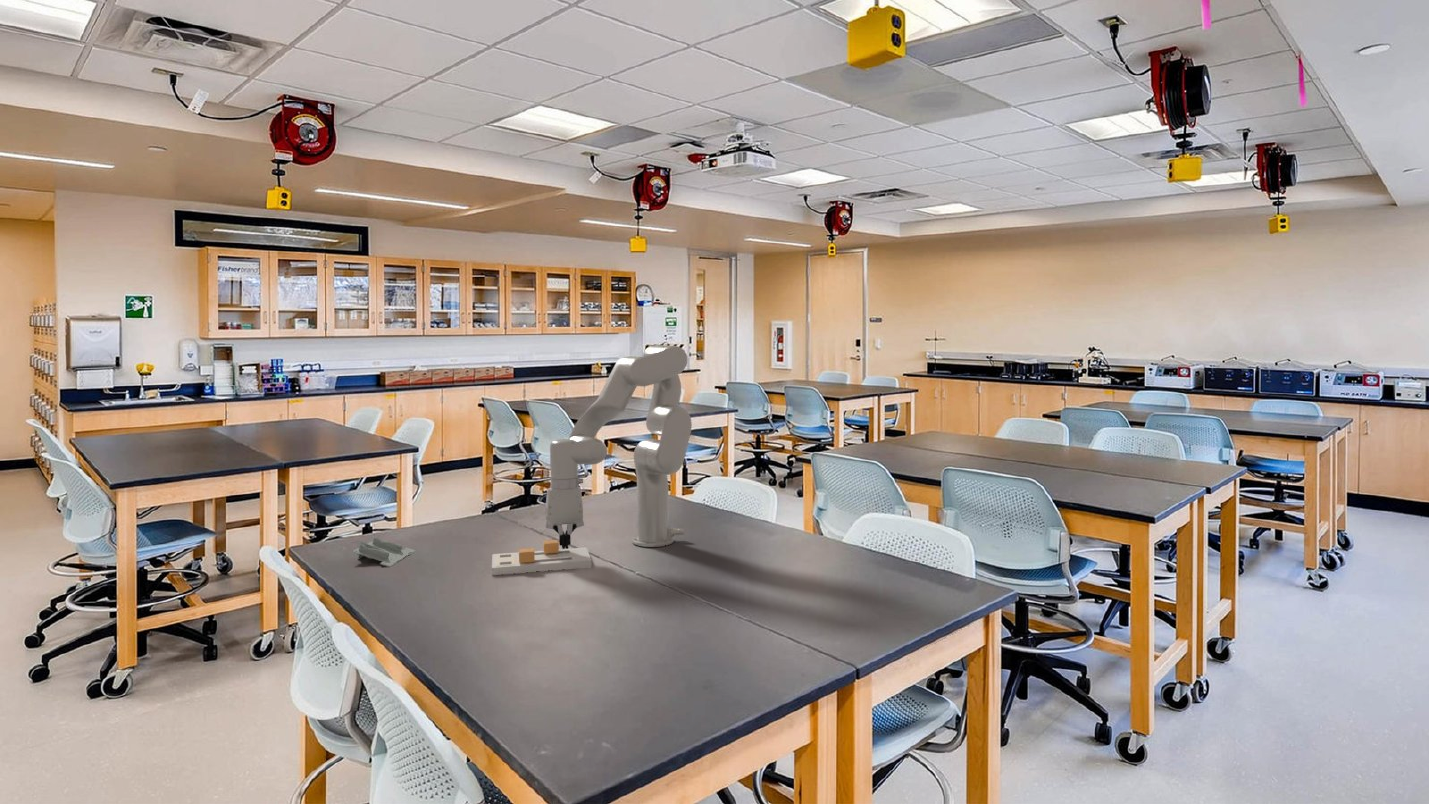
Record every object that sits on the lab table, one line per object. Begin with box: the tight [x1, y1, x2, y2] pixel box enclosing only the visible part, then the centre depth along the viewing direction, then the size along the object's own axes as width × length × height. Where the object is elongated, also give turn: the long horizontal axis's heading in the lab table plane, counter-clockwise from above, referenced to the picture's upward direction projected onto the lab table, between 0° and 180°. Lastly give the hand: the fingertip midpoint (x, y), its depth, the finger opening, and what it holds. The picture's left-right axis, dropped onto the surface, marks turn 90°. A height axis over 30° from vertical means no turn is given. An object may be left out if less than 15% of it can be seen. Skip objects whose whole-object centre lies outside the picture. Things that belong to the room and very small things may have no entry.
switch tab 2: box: [542, 539, 560, 554], centre depth 214 cm, size 4×4×3 cm
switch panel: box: [491, 547, 592, 576], centre depth 210 cm, size 26×13×2 cm, turn 106°
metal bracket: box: [352, 537, 416, 568], centre depth 216 cm, size 14×6×15 cm
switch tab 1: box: [518, 547, 535, 563], centre depth 205 cm, size 4×4×3 cm
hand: (565, 547), depth 215 cm, fingers closed
